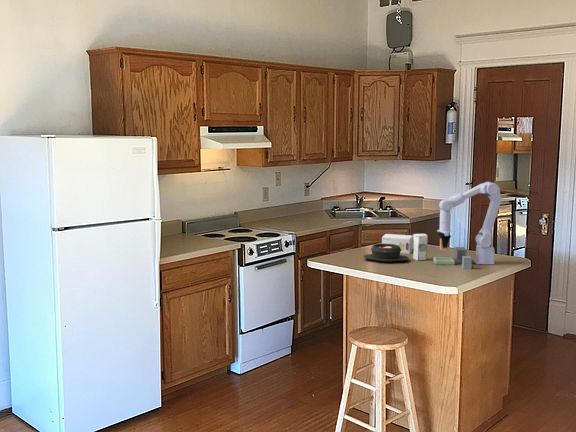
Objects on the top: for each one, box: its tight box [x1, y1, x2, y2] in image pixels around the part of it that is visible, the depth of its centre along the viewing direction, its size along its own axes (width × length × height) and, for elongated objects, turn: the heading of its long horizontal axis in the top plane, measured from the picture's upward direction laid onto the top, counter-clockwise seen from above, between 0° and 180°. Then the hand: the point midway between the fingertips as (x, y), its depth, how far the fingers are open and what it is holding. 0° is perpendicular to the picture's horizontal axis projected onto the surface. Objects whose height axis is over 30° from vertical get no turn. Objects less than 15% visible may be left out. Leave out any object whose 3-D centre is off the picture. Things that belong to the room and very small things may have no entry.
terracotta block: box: [439, 238, 450, 252], centre depth 340 cm, size 4×4×6 cm
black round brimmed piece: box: [362, 243, 409, 263], centre depth 348 cm, size 25×19×8 cm
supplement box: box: [381, 233, 414, 254], centre depth 376 cm, size 17×13×9 cm
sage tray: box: [432, 256, 455, 266], centre depth 341 cm, size 10×10×2 cm
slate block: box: [461, 256, 473, 270], centre depth 328 cm, size 4×4×6 cm
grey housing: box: [453, 246, 468, 266], centre depth 342 cm, size 7×11×8 cm, turn 174°
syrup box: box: [412, 233, 428, 262], centre depth 349 cm, size 6×6×14 cm
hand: (444, 247), depth 340 cm, fingers closed on terracotta block, 4 cm apart
